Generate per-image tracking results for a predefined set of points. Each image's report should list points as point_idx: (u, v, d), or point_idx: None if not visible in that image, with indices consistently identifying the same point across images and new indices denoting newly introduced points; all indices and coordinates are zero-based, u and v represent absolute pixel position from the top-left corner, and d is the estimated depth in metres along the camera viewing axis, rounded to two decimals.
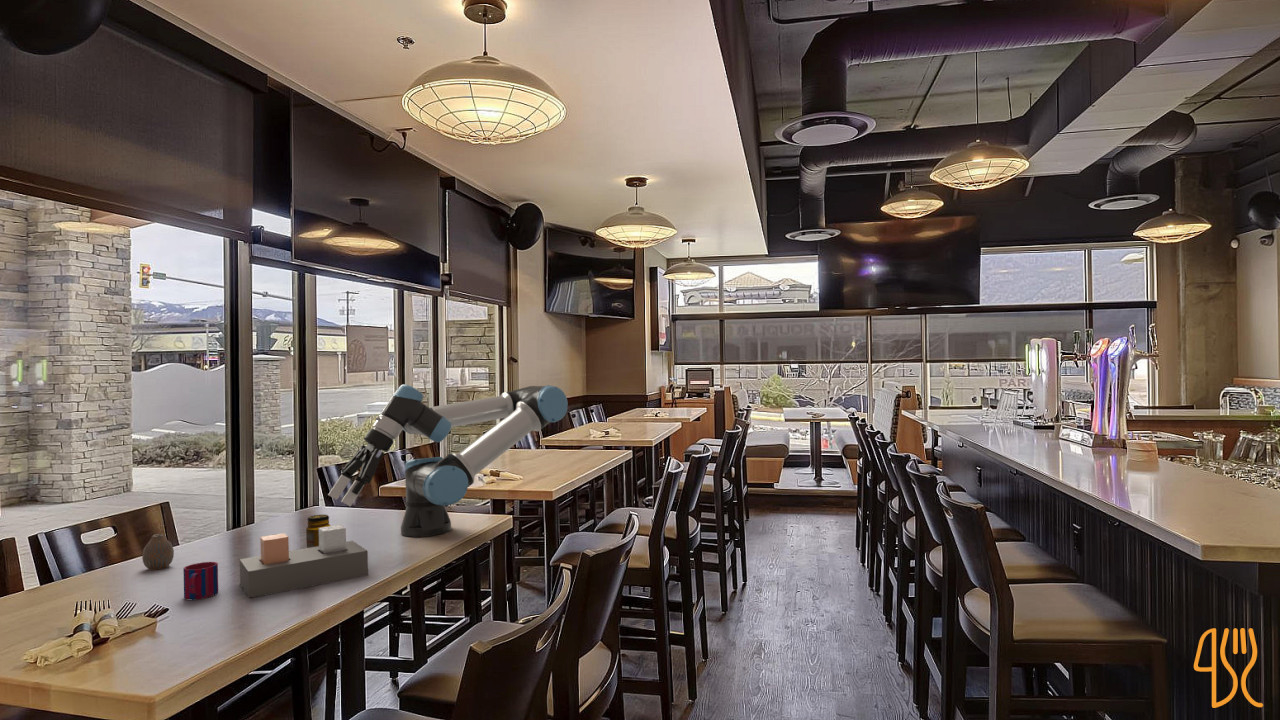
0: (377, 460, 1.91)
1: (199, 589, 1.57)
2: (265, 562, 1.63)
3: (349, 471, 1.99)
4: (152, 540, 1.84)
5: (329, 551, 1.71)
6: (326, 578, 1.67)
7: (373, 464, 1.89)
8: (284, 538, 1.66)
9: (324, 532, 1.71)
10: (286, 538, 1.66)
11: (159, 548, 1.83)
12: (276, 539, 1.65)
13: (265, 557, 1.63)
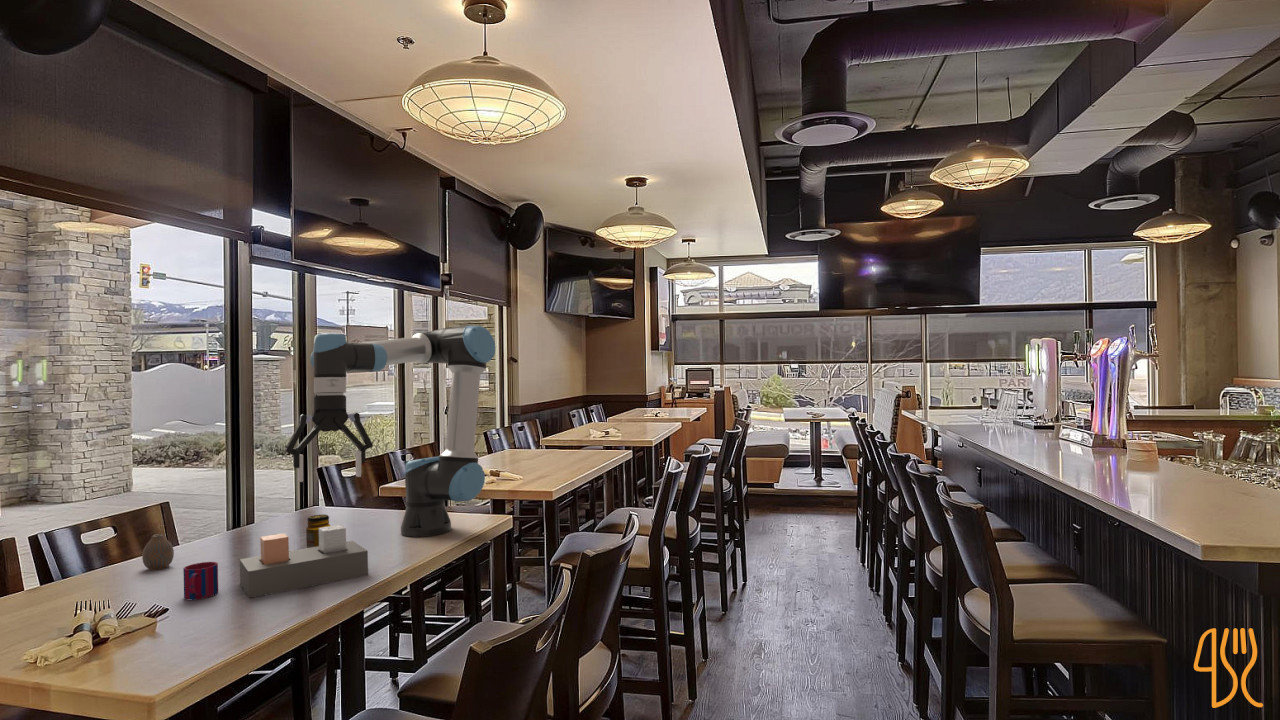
0: None
1: (199, 589, 1.57)
2: (265, 562, 1.63)
3: (304, 447, 1.72)
4: (152, 540, 1.84)
5: (329, 551, 1.71)
6: (326, 578, 1.67)
7: None
8: (284, 538, 1.66)
9: (324, 532, 1.71)
10: (286, 538, 1.66)
11: (159, 548, 1.83)
12: (276, 539, 1.65)
13: (265, 557, 1.63)
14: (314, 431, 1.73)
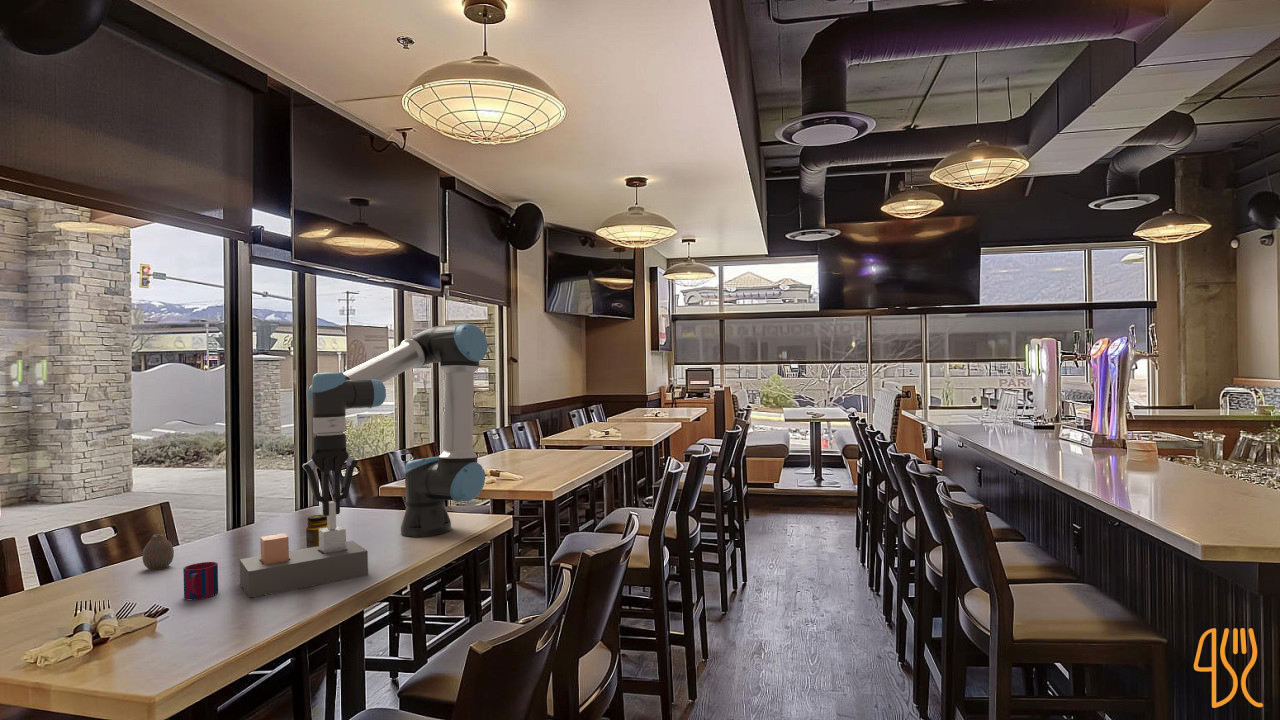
0: None
1: (199, 589, 1.57)
2: (265, 562, 1.63)
3: None
4: (152, 540, 1.84)
5: (329, 552, 1.71)
6: (326, 578, 1.67)
7: None
8: (284, 538, 1.66)
9: (324, 533, 1.71)
10: (286, 538, 1.66)
11: (159, 548, 1.83)
12: (276, 539, 1.65)
13: (265, 557, 1.63)
14: (325, 475, 1.73)
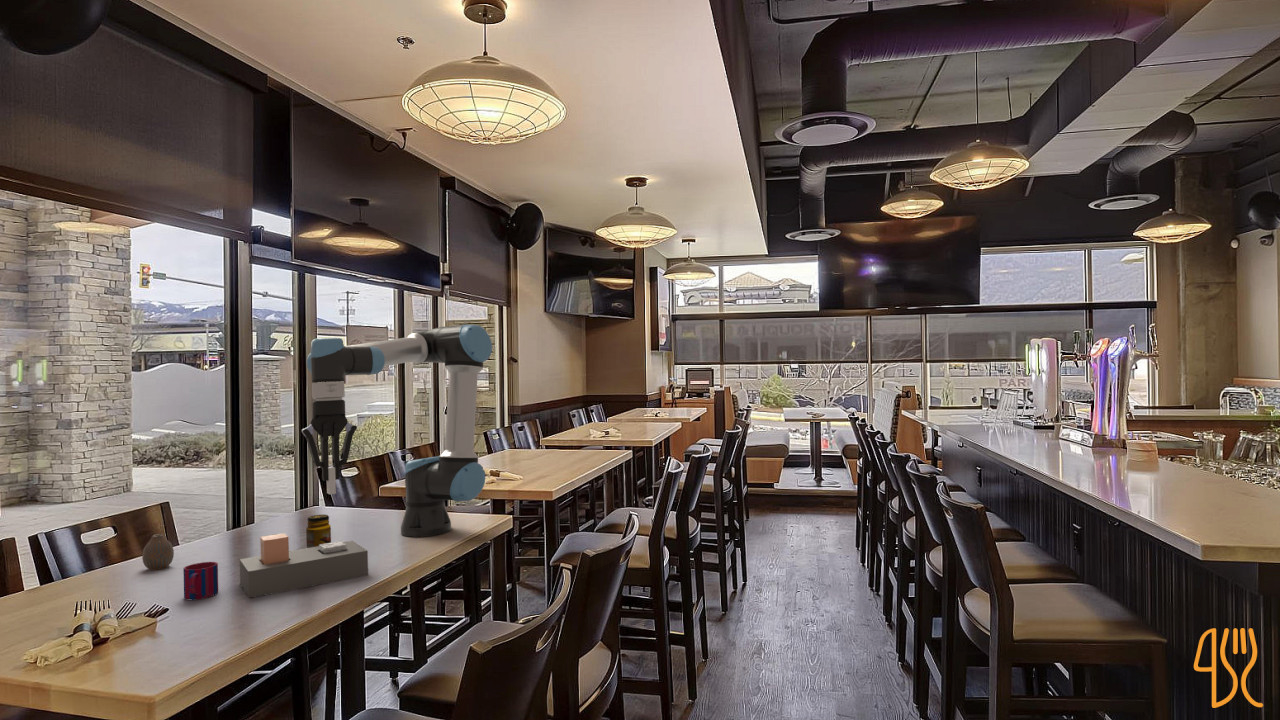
0: None
1: (199, 589, 1.57)
2: (265, 562, 1.63)
3: None
4: (152, 540, 1.84)
5: None
6: (326, 578, 1.67)
7: None
8: (284, 538, 1.66)
9: (324, 549, 1.71)
10: (286, 538, 1.66)
11: (159, 548, 1.83)
12: (276, 539, 1.65)
13: (265, 557, 1.63)
14: (324, 440, 1.73)
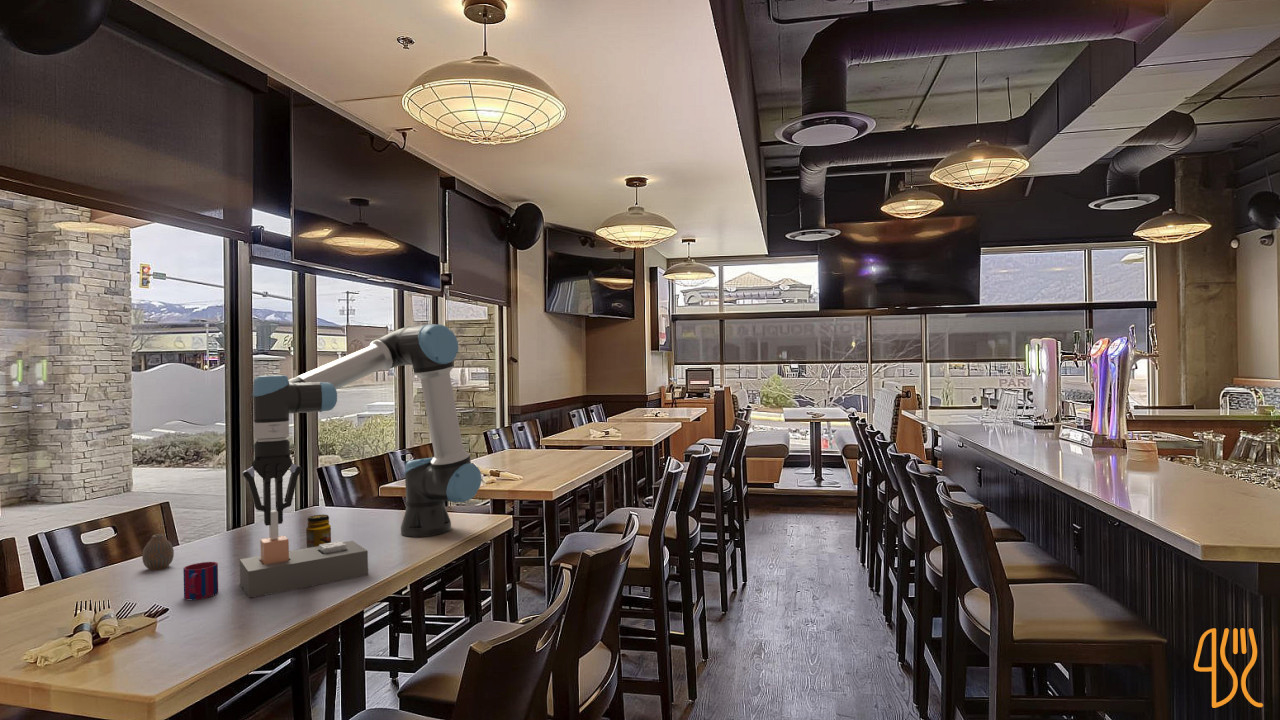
0: None
1: (199, 589, 1.57)
2: None
3: None
4: (152, 540, 1.84)
5: None
6: (326, 578, 1.67)
7: None
8: (284, 540, 1.66)
9: (324, 549, 1.71)
10: (286, 540, 1.66)
11: (159, 548, 1.83)
12: (276, 541, 1.65)
13: (265, 559, 1.63)
14: (266, 483, 1.65)
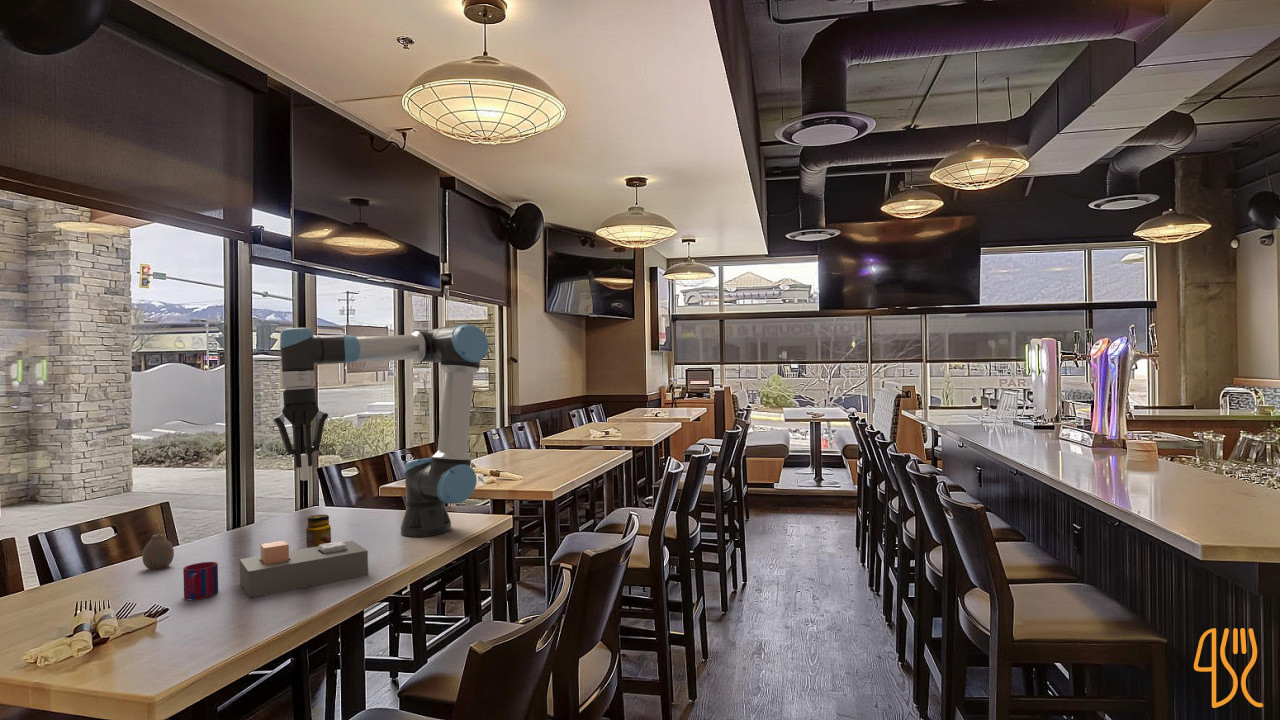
0: None
1: (199, 589, 1.57)
2: None
3: None
4: (152, 540, 1.84)
5: None
6: (326, 578, 1.67)
7: None
8: (284, 545, 1.66)
9: (324, 549, 1.71)
10: (286, 545, 1.66)
11: (159, 548, 1.83)
12: (276, 547, 1.65)
13: None
14: (296, 428, 1.77)
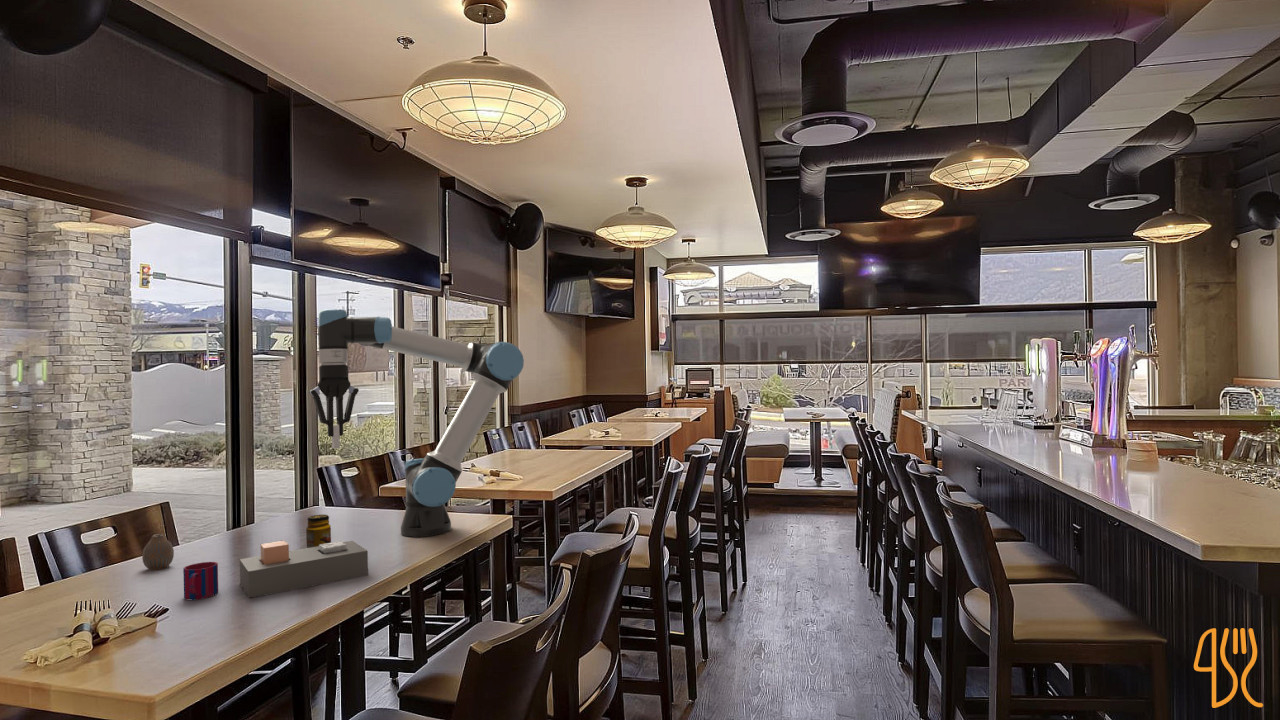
0: None
1: (199, 589, 1.57)
2: None
3: None
4: (152, 540, 1.84)
5: None
6: (326, 578, 1.67)
7: None
8: (284, 545, 1.66)
9: (324, 549, 1.71)
10: (286, 545, 1.66)
11: (159, 548, 1.83)
12: (276, 547, 1.65)
13: None
14: (329, 400, 1.94)
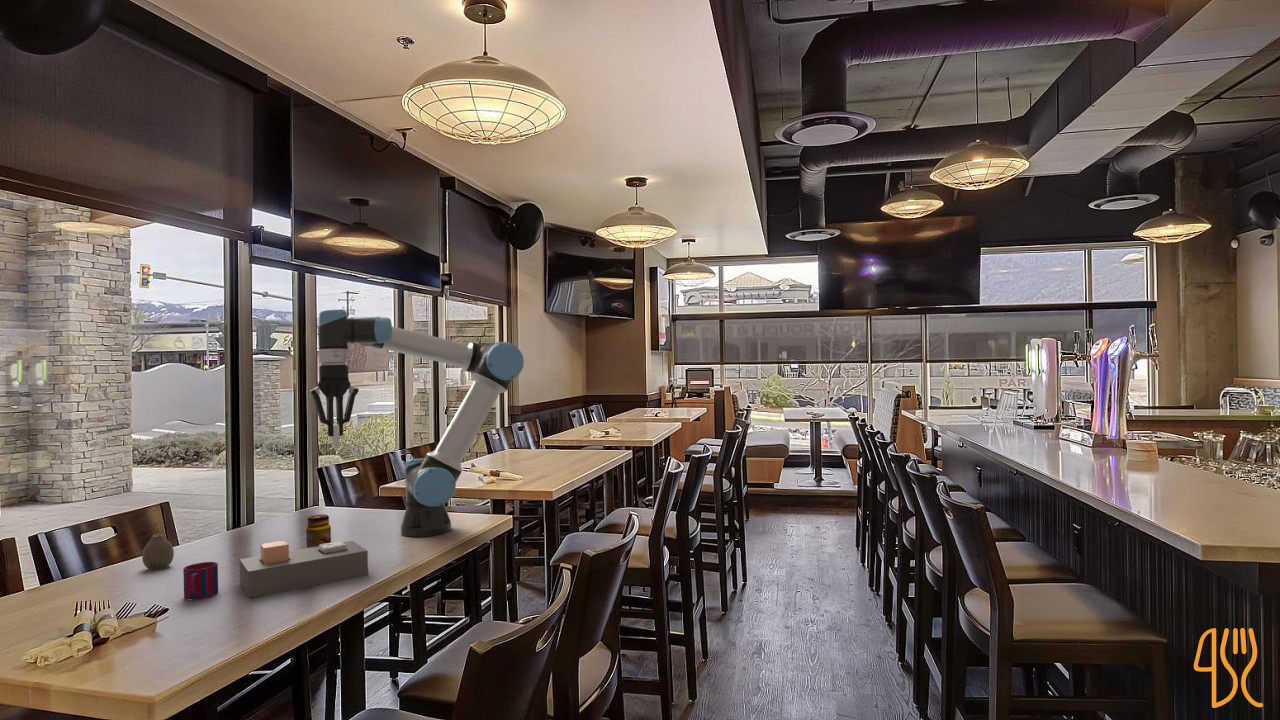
0: None
1: (199, 589, 1.57)
2: None
3: None
4: (152, 540, 1.84)
5: None
6: (326, 578, 1.67)
7: None
8: (284, 545, 1.66)
9: (324, 549, 1.71)
10: (286, 545, 1.66)
11: (159, 548, 1.83)
12: (276, 547, 1.65)
13: None
14: (329, 400, 1.94)
